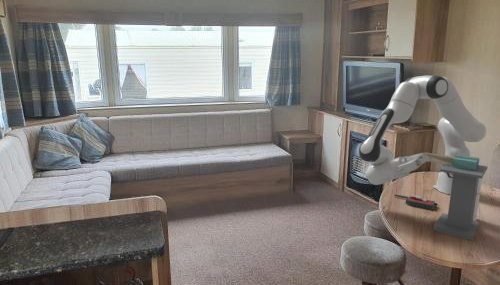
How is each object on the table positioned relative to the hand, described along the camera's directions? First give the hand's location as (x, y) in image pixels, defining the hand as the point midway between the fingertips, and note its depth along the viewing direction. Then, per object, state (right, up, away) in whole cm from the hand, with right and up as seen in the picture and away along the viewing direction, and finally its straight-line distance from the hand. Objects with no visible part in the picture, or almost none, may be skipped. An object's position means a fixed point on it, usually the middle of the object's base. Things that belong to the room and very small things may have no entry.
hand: (431, 156), depth 158 cm
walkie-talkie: (+3, -24, +24) cm, 34 cm away
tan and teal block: (+5, -3, -4) cm, 7 cm away
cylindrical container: (+18, -28, +7) cm, 34 cm away
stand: (+9, -29, -3) cm, 31 cm away
